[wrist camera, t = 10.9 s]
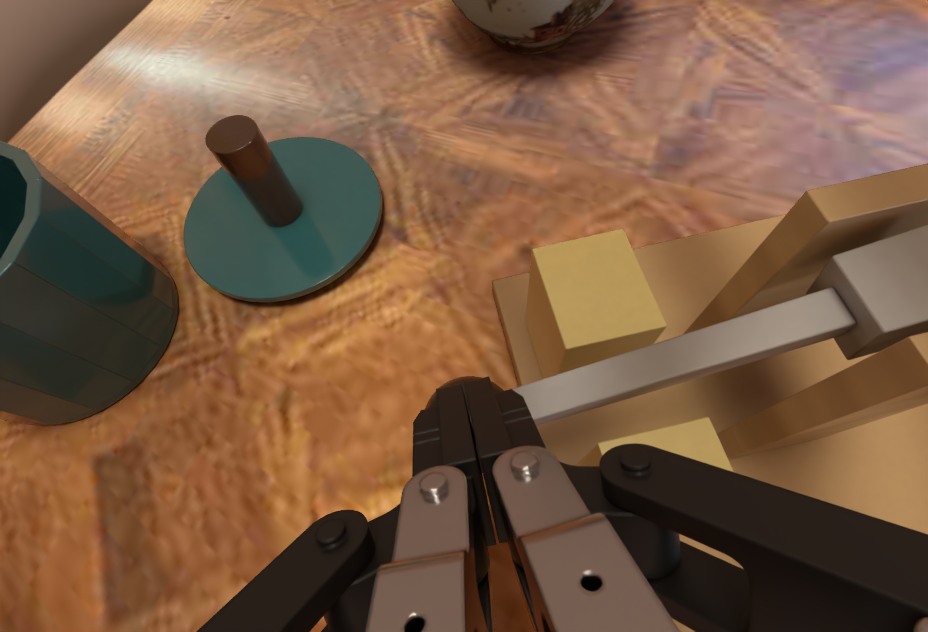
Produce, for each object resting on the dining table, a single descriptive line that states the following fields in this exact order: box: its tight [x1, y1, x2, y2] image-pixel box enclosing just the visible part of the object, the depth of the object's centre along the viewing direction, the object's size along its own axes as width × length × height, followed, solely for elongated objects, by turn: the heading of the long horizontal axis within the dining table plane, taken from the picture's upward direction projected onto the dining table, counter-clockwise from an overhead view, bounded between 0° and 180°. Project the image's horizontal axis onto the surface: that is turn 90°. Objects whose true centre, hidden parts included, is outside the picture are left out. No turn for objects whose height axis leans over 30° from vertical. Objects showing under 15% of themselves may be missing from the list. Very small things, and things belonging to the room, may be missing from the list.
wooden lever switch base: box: [492, 164, 928, 632], centre depth 16 cm, size 18×16×12 cm
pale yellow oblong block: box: [525, 229, 667, 379], centre depth 19 cm, size 3×4×6 cm
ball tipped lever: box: [425, 224, 928, 473], centre depth 13 cm, size 15×3×3 cm, turn 102°
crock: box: [0, 141, 178, 426], centre depth 21 cm, size 10×10×8 cm
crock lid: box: [184, 115, 382, 302], centre depth 24 cm, size 11×11×7 cm
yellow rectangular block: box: [576, 417, 734, 472], centre depth 16 cm, size 3×2×6 cm
